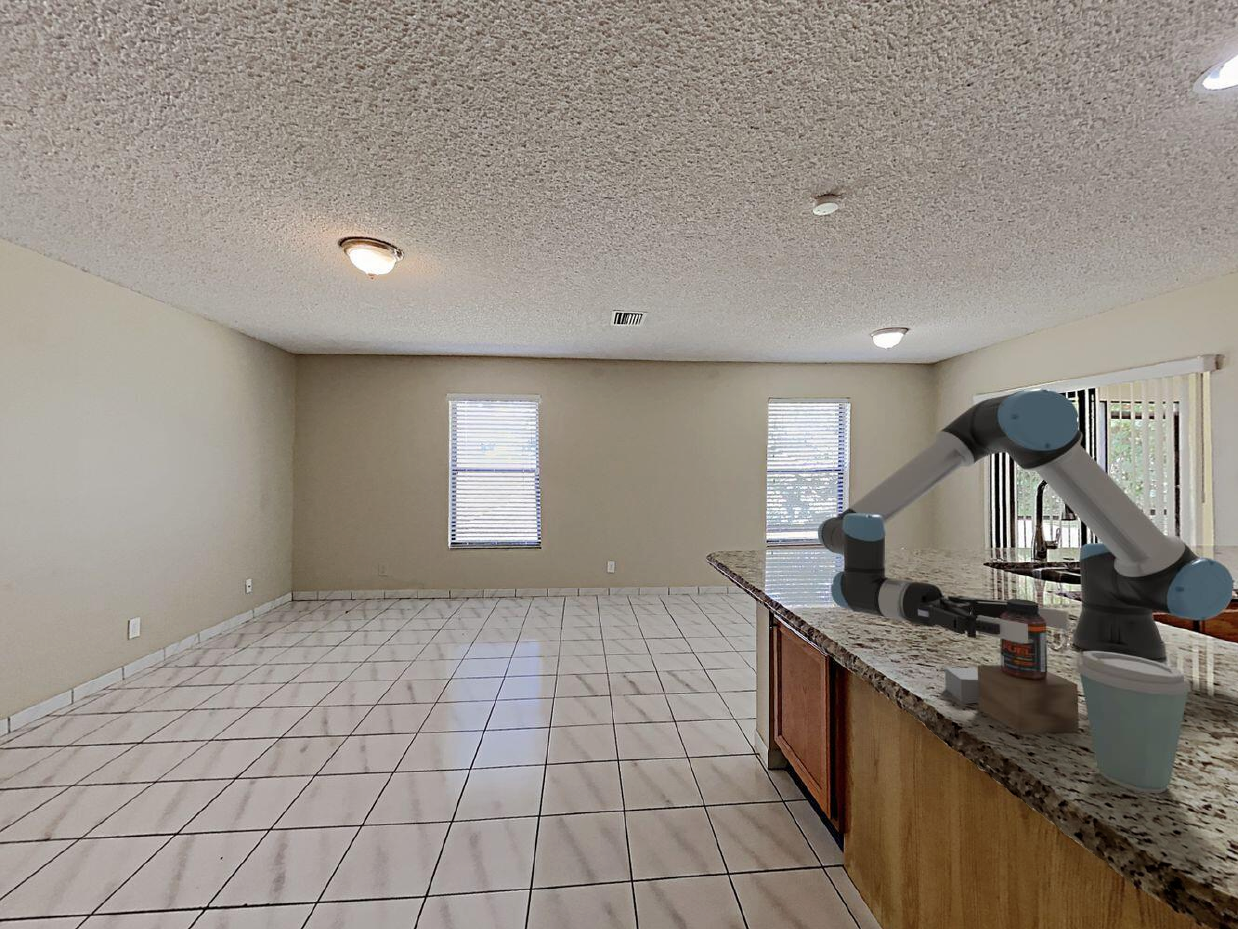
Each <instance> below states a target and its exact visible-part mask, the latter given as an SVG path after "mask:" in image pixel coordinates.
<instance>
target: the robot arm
mask: <svg viewBox="0 0 1238 929" xmlns="http://www.w3.org/2000/svg"><path fill="white" fill-rule="evenodd" d="M1078 418H1079V413H1078V410H1077V408H1076V407H1075V405H1074V404H1073V402H1072V401H1071V400H1070V399H1069V398H1067V397H1066V396H1065V395H1063V394H1061V393H1059V392H1057V391H1054V390H1052V389H1044V388H1037V389H1036V388H1035V389H1023V390H1019V391H1015V392H1013V393H1009V394H1006V395H1002V396H997V397H991V398H987V399H985V400H981V401H979V402H977V403H976V404H974V405H973V406H971V407H970V408H968V409H967V410H965V412H963V413H962V414H960V415H959V416H957V417H956V418H955V419H954V420H952V421H951V422H950V423H948V424H947V425H946V426H945V427H943V429H941V430H940V431H939V432H938V433H936V435H935V441H933V442H932V443H931V444H929V445H928V446H927V447H926V448H924V449H923V450H922V451H921V452H920V453H918V454H917V455H915V456H914V457H913V458H911V459H910V460H909V461H908V462H907V463H905V464H904V465H902V466H901V467H900V468H899V469H898V470H896V471H894V473H892V474H891V475H890V476H888V477H887V478H886V479H884V480H883V481H882V482H881V483H879V484H878V485H876V486H875V487H874V488H872V489H871V490H870V491H869V492H868V493H866V494H865V495H864V496H862V497H861V498H859V499H858V500H857V501H856V502H855V503H853V504H852V505H851V506H850V507H848V508H847V509H845V510H844V511H843V512H841V513H840V514H838V515H837V516H836V517H830V518H827V519H826V520H824V521H822V523H821V524H820V525H819V527H818V530H817V538H818V541H819V543H820V544H821V545H822V546H823V547H824V548H825V549H827V550H828V551H829V552H831V553H833V554H834V553H835V554H837V555H838V554H839V555H841V556H843V562H844V564H843V571H839V572H837V573H836V575H835V576H834V577H833V578H832V582H833V583H832V584H831V585H830V586H831V587H830V593H831V596H832V599H833V601H834V602H835V603H836V605H838V607H840V608H843V609H846V610H847V609H848V610H850V611H853V612H856V613H863V614H867V615H873V616H878V617H882V618H888V619H890V620H891V619H894V621H895V622H896V623H897V624H900V623H901V622H905V623H911V624H914V625H916V626H917V625H919V626H923V627H927V628H933V627H935V626H938V627H941V628H943V629H946V630H948V631H951V632H953V633H956V634H959V635H965V634H966V633H967V634H966V635H967V638H969V639H976V638H977V634H978V635H984V636H988V637H993V638H998V639H1000V638H1001V639H1006V640H1011V641H1016V642H1020V643H1025V644H1026V643H1028V624H1025V623H1019V622H1014V621H1008V620H1003V619H1000V617H1001V615H1002V614H1003V613H1005V612H1006V611H1007V610H1008V608H1007V600H1004V599H1003V600H1002V599H993V598H991V599H990V598H981V597H980V598H979V597H970V596H965V595H957V596H956V595H948V596H947V597H945V596H944V595H943V593H942V591H941V589H940V588H939V587H938V586H937V585H935V584H932V583H927V582H920V581H913V580H908V579H902V578H895V577H887V576H886V530H885V526H886V525H887V524H888V523H890V522H891V521H892V520H894V519H895V518H896V517H898V516H899V515H900V514H901V513H903V512H904V511H905V510H907V509H908V508H909V507H911V506H912V505H913V504H915V503H916V502H917V501H918V500H920V499H921V498H922V497H924V496H925V495H927V493H929V492H930V491H932V490H933V489H935V488H936V487H937V486H938V485H939V484H941V483H942V482H944V481H945V480H946V479H947V478H949V477H950V476H951V475H953V474H954V473H956V472H957V471H958V470H960V469H961V468H962V467H963V468H964V467H965V468H969V467H971V466H973V465H974V464H975V463H977V462H978V461H979V460H981V459H984V458H985V457H988V456H991V455H995V454H999V453H1000V454H1001V453H1002V454H1003V453H1006V454H1008V455H1009V456H1010V458H1011V459H1012V460H1013V461H1014V462H1015V463H1016V464H1017V465H1018V466H1019V467H1020V468H1021V469H1022V470H1024V471H1035V472H1036V473H1037V474H1038V475H1039V476H1040V477H1041V478H1042V480H1043V481H1044V482H1046V484H1047V485H1048V486H1049V487H1050V488H1051V489H1052V490H1053V491H1054V493H1055V494H1057V496H1058V497H1059V498H1060V499H1061V500H1062V501H1063V502H1064V504H1066V505H1067V506H1068V507H1069V509H1070V510H1072V512H1073V513H1074V514H1075V515H1076V516H1077V518H1078V519H1080V520H1081V522H1083V524H1085V526H1086V527H1087V528H1088V529H1089V530H1090V531H1091V533H1093V534H1094V535H1095V537H1096V538H1097V539H1098V540H1099V541H1100V543H1099V542H1097V543H1095V542H1093V543H1085V544H1084V545H1082V546H1081V548H1080V553H1079V554H1080V555H1079V560H1078V562H1079V568H1080V569H1079V570H1080V571H1079V572H1080V574H1079V575H1080V592H1081V593H1080V594H1081V612H1080V615H1079V616H1078V620H1077V624H1076V627H1075V629H1074V630H1073V632H1072V644H1074V645H1075V646H1076V647H1078V648H1080V649H1083V650H1086V651H1102V652H1112V653H1119V654H1124V655H1130V656H1135V657H1141V658H1144V659H1148V660H1159V659H1163V658H1165V657H1166V656H1167V654H1166V653H1167V652H1166V643H1165V641H1163V640H1162V636H1161V633H1160V631H1159V628H1158V626H1157V623H1156V621H1155V619H1154V614H1153V612H1154V611H1155V612H1158V613H1162V614H1166V615H1169V616H1172V617H1175V618H1179V619H1187V620H1193V621H1205V620H1210V619H1213V618H1215V617H1217V616H1219V615H1220V614H1221V613H1222V612H1223V611H1224V610H1225V609H1226V608H1227V607H1228V605H1230V602H1231V600H1232V598H1233V590H1234V589H1235V588H1234V579H1233V576H1232V575H1231V574H1232V573H1230V570H1229V569H1228V568H1227V567H1226V566H1225V565H1224V564H1222V563H1221V562H1219V561H1216V560H1214V559H1212V558H1209V557H1199V556H1198V555H1196V553H1195V552H1193V550H1192V549H1191V548H1190V547H1189V546H1188V545H1187V544H1186V543H1185V542H1184V541H1183V540H1182V539H1181V538H1179V537H1178V536H1175V535H1170V534H1168V535H1167V534H1164V533H1163V532H1162V531H1161V530H1160V529H1159V528H1158V526H1156V524H1155V523H1154V522H1153V521H1152V520H1151V519H1150V518H1149V517H1148V516H1147V515H1146V513H1144V512H1143V510H1141V509H1140V507H1139V506H1138V505H1137V504H1136V503H1135V502H1134V501H1133V500H1132V498H1131V497H1129V495H1128V494H1127V493H1126V492H1125V491H1124V490H1123V489H1122V488H1121V487H1120V486H1119V484H1118V483H1117V482H1116V481H1114V479H1113V478H1112V477H1111V476H1110V475H1109V474H1108V473H1107V472H1106V470H1104V469H1103V468H1102V467H1101V466H1100V464H1099V463H1098V462H1097V461H1096V460H1095V459H1094V458H1093V457H1092V456H1091V455H1090V453H1088V452H1087V451H1086V449H1085V448H1083V446H1082V445H1081V442H1082V439H1083V433H1082V431H1081V430H1080V429H1079V428H1080V421H1078ZM1038 610H1039V611H1038V614H1039V615H1040V616H1041V617H1043V618H1044V619H1045V621H1046V627H1050V628H1053V629H1054V628H1055V629H1060V630H1066V631H1067V630H1068V631H1069V629H1070V619H1069V616H1070V615H1069V611H1065V610H1060V609H1054V608H1045V607H1039V606H1038Z"/></svg>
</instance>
